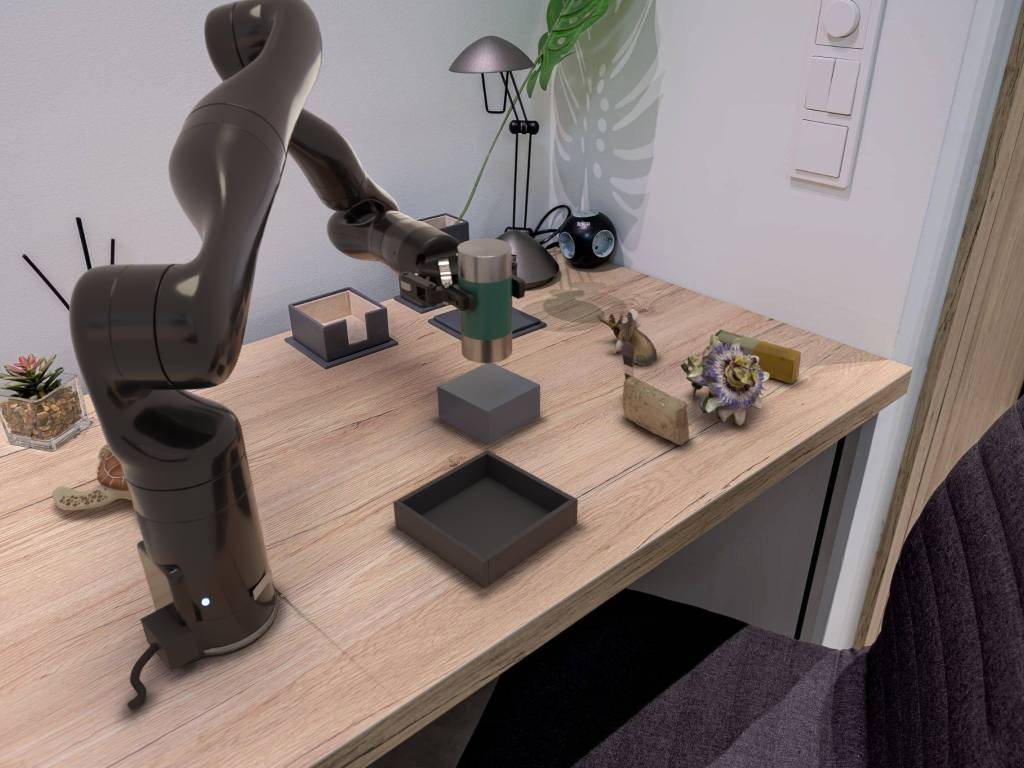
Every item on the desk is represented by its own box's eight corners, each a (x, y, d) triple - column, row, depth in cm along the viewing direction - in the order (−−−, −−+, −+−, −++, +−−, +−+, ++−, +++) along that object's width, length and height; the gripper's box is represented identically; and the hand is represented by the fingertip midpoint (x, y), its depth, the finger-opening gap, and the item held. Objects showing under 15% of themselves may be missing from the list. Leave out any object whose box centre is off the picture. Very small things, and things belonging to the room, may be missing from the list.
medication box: (709, 361, 117) (710, 336, 114) (719, 352, 118) (720, 328, 116) (791, 385, 110) (794, 359, 107) (800, 375, 111) (802, 350, 109)
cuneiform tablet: (628, 398, 107) (702, 434, 99) (604, 416, 105) (678, 454, 97) (623, 354, 103) (700, 387, 95) (598, 371, 101) (675, 407, 93)
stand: (488, 448, 98) (487, 412, 95) (438, 420, 103) (436, 386, 101) (540, 419, 103) (540, 384, 101) (490, 394, 109) (489, 361, 106)
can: (486, 369, 94) (483, 261, 87) (450, 352, 97) (445, 247, 91) (523, 351, 97) (523, 246, 91) (487, 335, 101) (485, 234, 95)
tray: (484, 592, 76) (483, 563, 75) (395, 529, 85) (392, 501, 83) (577, 526, 85) (578, 499, 83) (488, 475, 93) (487, 449, 91)
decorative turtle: (57, 553, 82) (43, 513, 79) (54, 468, 95) (42, 431, 92) (243, 501, 89) (235, 463, 87) (217, 429, 102) (209, 394, 100)
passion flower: (731, 458, 105) (719, 418, 95) (667, 412, 111) (649, 370, 101) (788, 394, 106) (781, 348, 96) (721, 352, 112) (709, 305, 102)
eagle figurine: (584, 339, 120) (615, 354, 112) (605, 295, 120) (638, 306, 112) (623, 358, 124) (656, 373, 116) (643, 315, 123) (678, 327, 115)
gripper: (368, 237, 98) (441, 280, 86) (469, 215, 106) (549, 252, 94) (373, 295, 102) (444, 344, 90) (471, 270, 109) (548, 312, 97)
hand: (497, 297), depth 92 cm, fingers closed on can, 6 cm apart
